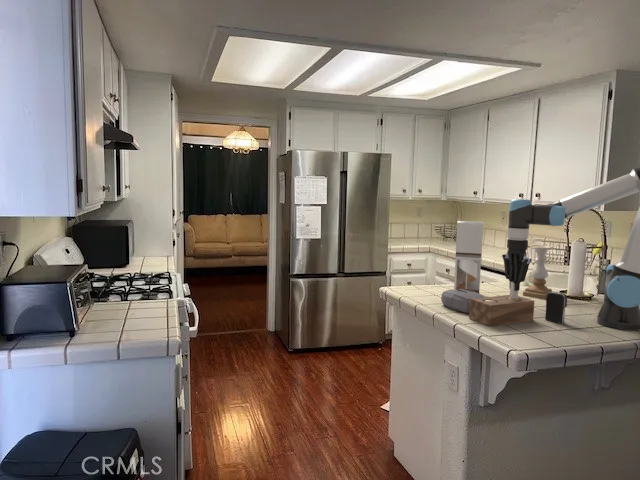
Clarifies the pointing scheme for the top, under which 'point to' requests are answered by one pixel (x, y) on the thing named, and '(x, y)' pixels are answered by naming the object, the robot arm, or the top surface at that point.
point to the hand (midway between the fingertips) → (513, 298)
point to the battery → (555, 306)
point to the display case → (468, 255)
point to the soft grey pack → (459, 299)
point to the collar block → (501, 310)
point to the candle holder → (539, 274)
